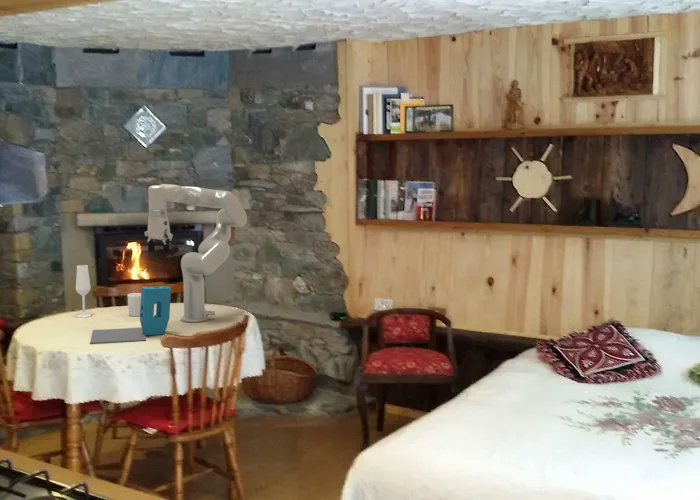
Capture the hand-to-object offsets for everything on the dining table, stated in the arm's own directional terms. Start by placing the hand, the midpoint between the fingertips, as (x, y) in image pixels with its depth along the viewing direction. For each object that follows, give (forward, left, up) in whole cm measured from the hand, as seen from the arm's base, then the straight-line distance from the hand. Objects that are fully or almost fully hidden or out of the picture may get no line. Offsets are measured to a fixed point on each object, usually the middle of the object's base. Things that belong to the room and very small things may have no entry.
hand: (158, 252), depth 337 cm
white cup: (+10, -27, -34) cm, 44 cm away
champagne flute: (+34, -31, -34) cm, 57 cm away
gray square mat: (+18, +13, -34) cm, 40 cm away
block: (+3, +13, -34) cm, 36 cm away
